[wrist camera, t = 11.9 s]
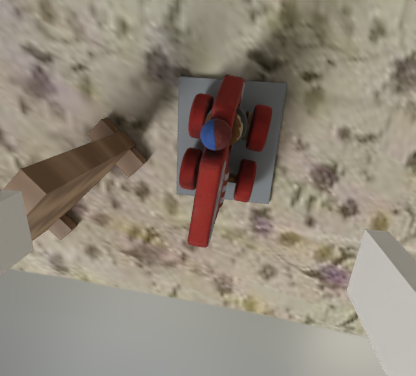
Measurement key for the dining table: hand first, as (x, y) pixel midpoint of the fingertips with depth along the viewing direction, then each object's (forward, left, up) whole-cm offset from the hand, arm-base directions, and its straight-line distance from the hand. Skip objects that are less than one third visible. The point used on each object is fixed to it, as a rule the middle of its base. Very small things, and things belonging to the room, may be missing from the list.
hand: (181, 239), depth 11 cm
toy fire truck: (0, 0, -19) cm, 19 cm away
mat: (0, 0, -19) cm, 19 cm away
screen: (+6, -16, -19) cm, 25 cm away
